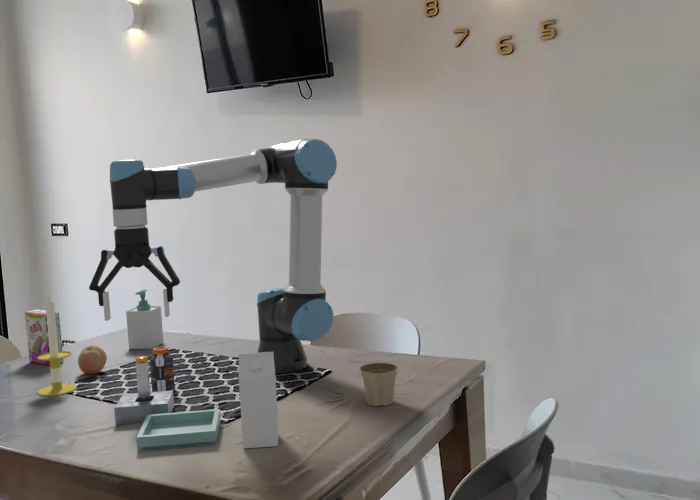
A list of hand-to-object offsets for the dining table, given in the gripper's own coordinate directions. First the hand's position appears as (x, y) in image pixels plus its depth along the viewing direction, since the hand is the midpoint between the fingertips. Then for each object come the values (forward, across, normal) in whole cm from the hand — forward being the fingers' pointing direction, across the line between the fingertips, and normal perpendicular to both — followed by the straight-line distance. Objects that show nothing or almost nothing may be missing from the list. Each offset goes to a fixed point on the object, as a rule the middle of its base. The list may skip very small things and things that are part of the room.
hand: (137, 317), depth 165 cm
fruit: (+24, +22, -43) cm, 53 cm away
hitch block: (+24, 0, 0) cm, 24 cm away
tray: (+24, -10, +16) cm, 30 cm away
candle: (+24, +28, -27) cm, 45 cm away
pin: (+24, 0, 0) cm, 24 cm away
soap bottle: (+24, +12, -74) cm, 78 cm away
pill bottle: (+24, -1, -20) cm, 31 cm away
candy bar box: (+24, +40, -60) cm, 76 cm away
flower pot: (+24, -56, +5) cm, 61 cm away
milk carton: (+24, -28, +23) cm, 43 cm away
